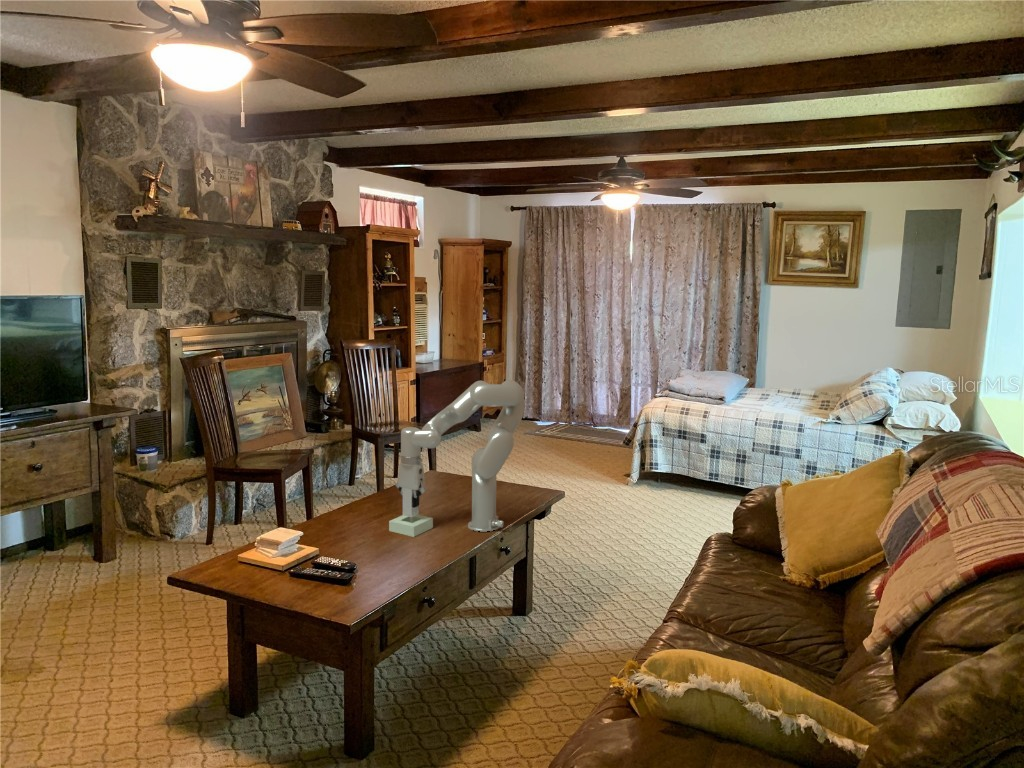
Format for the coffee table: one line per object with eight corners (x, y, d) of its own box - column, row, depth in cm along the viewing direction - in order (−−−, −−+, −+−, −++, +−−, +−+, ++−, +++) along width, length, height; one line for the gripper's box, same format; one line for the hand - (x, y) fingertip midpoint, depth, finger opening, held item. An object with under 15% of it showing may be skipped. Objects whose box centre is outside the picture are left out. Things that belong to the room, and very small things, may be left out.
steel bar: (418, 514, 280) (418, 486, 278) (411, 517, 276) (411, 489, 274) (409, 512, 282) (409, 485, 280) (402, 515, 278) (402, 487, 276)
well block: (432, 527, 282) (432, 517, 281) (413, 536, 272) (413, 526, 271) (408, 522, 288) (408, 512, 287) (389, 530, 278) (389, 521, 277)
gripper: (434, 460, 275) (434, 506, 277) (399, 454, 283) (399, 499, 286) (422, 465, 268) (422, 512, 271) (387, 458, 277) (387, 504, 279)
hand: (410, 505), depth 278 cm, fingers closed on steel bar, 4 cm apart
